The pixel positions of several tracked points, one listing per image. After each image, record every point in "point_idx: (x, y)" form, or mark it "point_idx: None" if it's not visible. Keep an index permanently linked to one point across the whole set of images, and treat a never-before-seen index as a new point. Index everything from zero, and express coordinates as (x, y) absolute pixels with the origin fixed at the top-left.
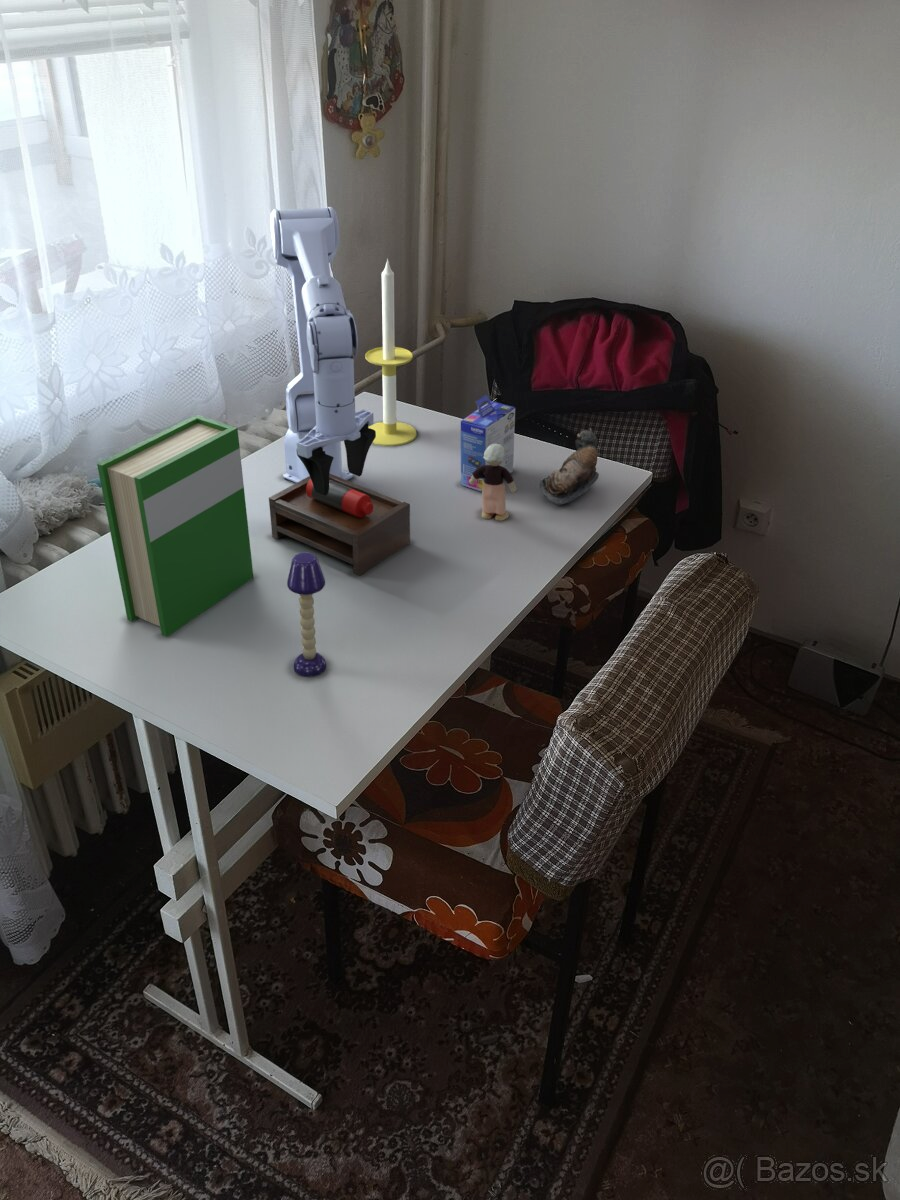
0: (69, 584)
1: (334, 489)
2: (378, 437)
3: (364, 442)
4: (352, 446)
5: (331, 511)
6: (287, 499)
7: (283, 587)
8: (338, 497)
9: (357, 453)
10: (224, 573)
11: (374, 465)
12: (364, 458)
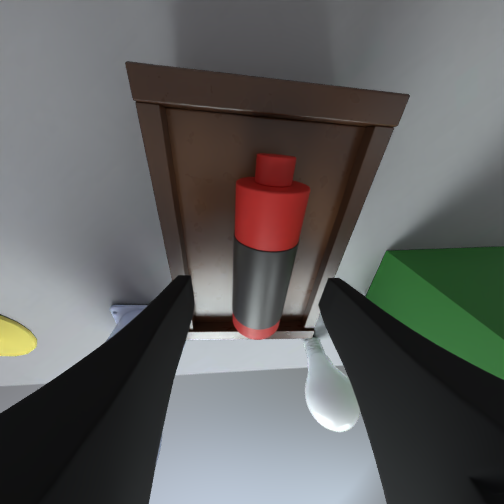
0: None
1: (281, 282)
2: (15, 337)
3: (94, 441)
4: (156, 401)
5: None
6: (285, 320)
7: (401, 206)
8: (294, 256)
9: (159, 355)
10: (466, 268)
11: (63, 303)
12: (146, 317)
